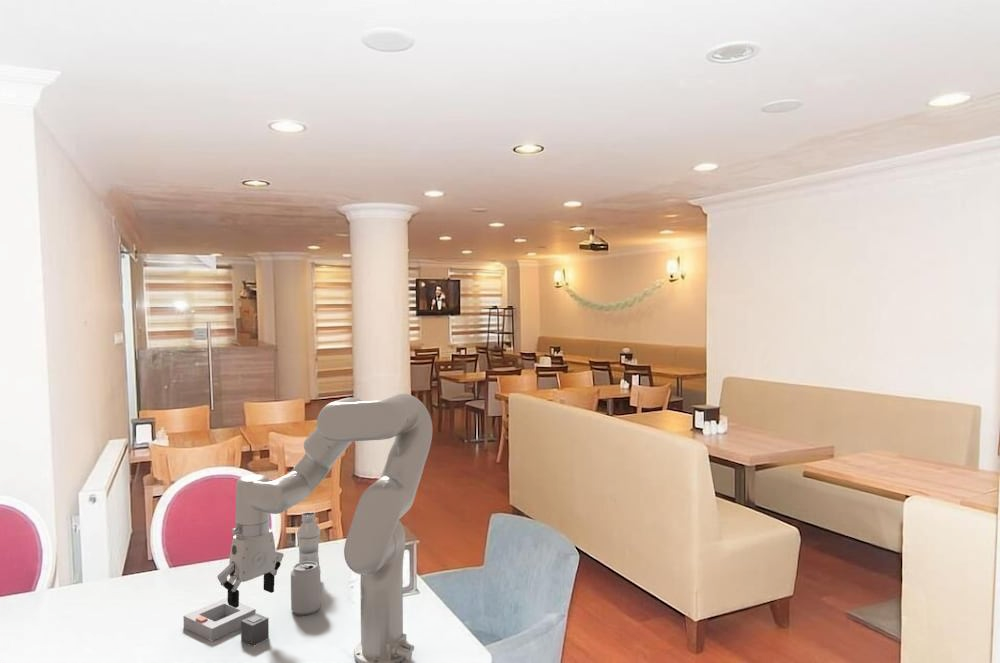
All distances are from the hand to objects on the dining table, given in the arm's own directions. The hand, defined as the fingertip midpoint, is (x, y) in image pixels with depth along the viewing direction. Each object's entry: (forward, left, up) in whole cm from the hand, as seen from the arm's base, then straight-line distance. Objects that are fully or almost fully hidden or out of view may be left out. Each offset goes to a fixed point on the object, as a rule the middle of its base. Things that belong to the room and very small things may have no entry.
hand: (251, 598), depth 153 cm
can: (+1, -17, -10) cm, 20 cm away
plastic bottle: (+14, -29, -10) cm, 34 cm away
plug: (-1, 0, -10) cm, 10 cm away
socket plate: (+13, 0, -10) cm, 17 cm away
